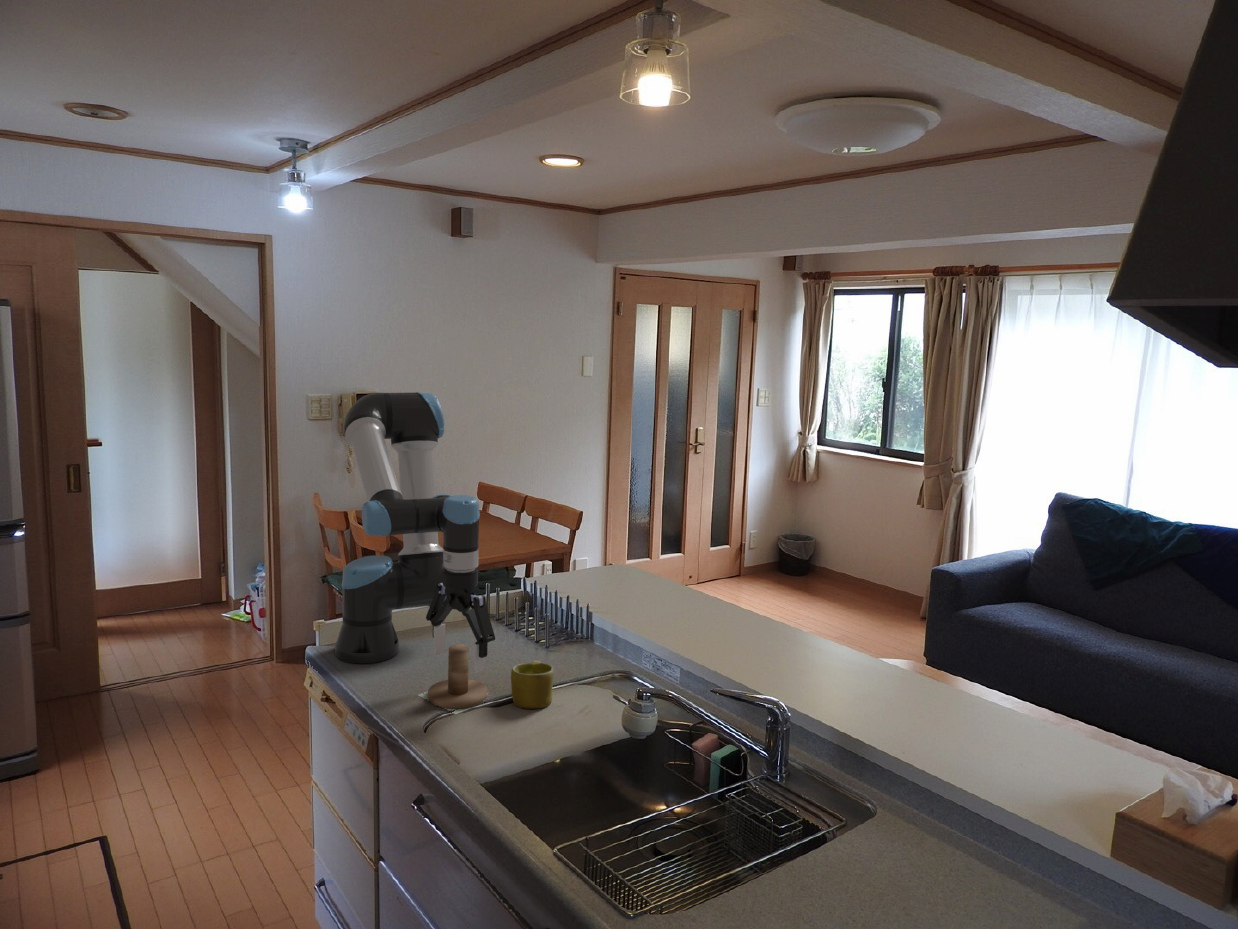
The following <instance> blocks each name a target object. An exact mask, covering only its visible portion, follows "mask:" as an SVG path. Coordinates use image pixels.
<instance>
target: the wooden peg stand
mask: <svg viewBox="0 0 1238 929" xmlns="http://www.w3.org/2000/svg"><path fill="white" fill-rule="evenodd" d="M447 659H448V661H447V662H448V664H447V665H448V668H447V673H448V674H447V679H445V680H441V681H438V682H435V683H434V684H432V685H431V686H430V687H429V688H428V690H427V691H428V700H429V701H430V702H431V704H432V705H433V704H434V705H433V706H435V705H437V706H439V707H438V708H440V707H442V708H441V709H443V708H446V709H467V708H471V707H473V708H476V707H477V706H476V705H478V704H480V703H481V702H483V700H485V699H486V698H487V695H488V693H489V692H488V691H489V690H488V687H487V685H485V684H484V683H483V682H481V681H478V680H475V679H470V678H469V671H470V670H469V668H470V667H469V666H470V661H469V660H470V647H469V645H466V644H462V643H461V644H460V643H459V644H458V643H457V644H453V645H450V646H449V647H448V658H447ZM428 700H427V701H428ZM429 701H428V702H429ZM430 702H429V703H430ZM437 706H436V707H437ZM475 706H476V707H475ZM478 706H479V705H478ZM471 709H472V708H471Z"/></svg>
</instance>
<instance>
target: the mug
mask: <svg viewBox="0 0 1238 929" xmlns="http://www.w3.org/2000/svg"><path fill="white" fill-rule="evenodd" d="M510 671H511V672H510V684H511V698H512V702H513V704H514V705H515V706H516V707H518V708H521V709H525V710H534V709H542V708H547V707H549V706H550V705H551V703H552V702H553V686H554V678H555V670H554V667H553V665H551V664H548V663H544V662H541V660H532V661H531V662H527V663H526V662H524V663H518V664H516V665H514V666H512V668H511V670H510Z"/></svg>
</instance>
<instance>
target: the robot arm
mask: <svg viewBox="0 0 1238 929" xmlns="http://www.w3.org/2000/svg"><path fill="white" fill-rule="evenodd" d="M444 416H445V415H444V411H443V408H442V406H441V401H439V399H438V397H437V396H436V395H434V394H432V393H424V392H419V391H417V392H372V393H369V394H366V395H364V396H362V397H360V398H359V399H358V400H356V401H355V402H354V403H353V404H352V405H351V407H350V408H349V410H348V411H347V412H346V414H345V417H344V421H343V434H344V439H345V441H346V443H347V444H348V445H349V446H350V447H351V448H352V450H353V453H354V458H355V461H356V465H357V468H358V471H359V475H360V479H361V482H362V486H363V489H364V493H365V496H366V499H367V501H366V502H364V503H363V504H362V509H361V521H362V528H363V531H364V533H365V534H366V536H372V537H373V536H374V537H375V536H379V537H380V536H382V537H386V536H395V535H402V537H403V539H402V540H403V547H402V548H401V550H400V551H399V553H398V554H397V560H398V561H393V560H392V558H391V557H390V556H387V555H369V556H363V557H360V558H357V559H354V560H352V561H351V562H348V563H347V564H346V565H345V566H344V568H343V570H342V580H341V581H342V582H341V588H342V624H341V626H340V629H339V633H338V636H337V640H336V642H335V644H334V646H335V647H334V653H335V654H334V655H335V657H336V658H337V659H338V660H341V661H343V662H346V663H349V664H350V663H351V664H360V665H361V664H363V665H364V664H372V663H373V664H375V663H381V662H383V661H387V660H390V659H392V658H394V657H396V656H397V655H398V653H399V651H400V641H399V638H398V634H397V632H396V631H397V630H396V629H395V626H394V624H393V617H392V616H393V611H394V610H403V609H412V608H421V607H422V608H423V607H429V608H428V611H427V612H426V613H427V614H426V616H425V620H426V621H429V622H430V624H431V625H432V639H433V652H432V653H433V655H434V656H437V655H441V654H443V653H446V621H445V620H446V619H447V617H448V616H449V614H450V613H451V612H452V610H456V611H458V612H459V613H461V614H462V616H464V617H465V618H466V620H467V622H468V625H469V627H470V629H471V631H472V633H473V636H474V637H475V640H476V641H475V642H473V646H474V647H473V649H474V650H473V673H476V674H477V673H479V672H482V671H486V669H487V668H486V667H487V664H486V663H487V657H488V651H489V650H488V646H489V645H488V643H489V642H494V641H495V640H496V635H495V632H494V629H493V626H492V621H491V619H490V614H489V611H488V607H487V600H486V599H487V598H486V595H485V594H481V595H476V593H475V592H476V591H475V589H476V587H477V586H478V584H479V569H478V567H479V543H480V542H479V540H480V534H479V533H480V532H479V531H480V516H481V512H480V502H479V499H478V498H476V497H475V496H471V495H464V494H462V495H461V494H460V495H459V494H456V495H449V494H447V493H446V494H444V493H441V494H440V493H439V494H437V495H436V488H435V487H436V486H435V470H434V458H433V451H434V450H435V448H436V447H437V446H438V445H439V440H438V439H440V438H442V437H443V436H444V433H445V418H444ZM387 439H389V440H390V444H391V445H390V446H391V447H390V448H392V449H393V450H394V451H396V453H397V460H398V461H397V462H398V474H399V476H397V475H396V472H395V468H394V465H393V462H392V459H391V456H390V454H389V450H388V446H387V444H386V440H387ZM398 478H399V480H398ZM439 532H440V533H441V532H442V533H443V534H442V540H443V541H442V546H441V545H440V544H439Z"/></svg>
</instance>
